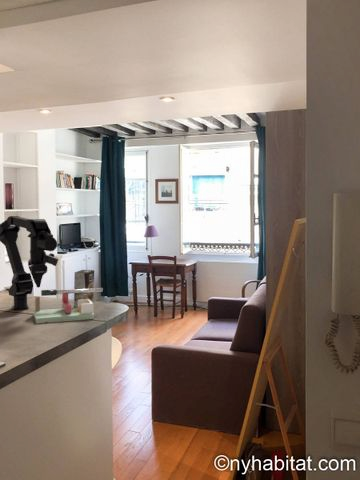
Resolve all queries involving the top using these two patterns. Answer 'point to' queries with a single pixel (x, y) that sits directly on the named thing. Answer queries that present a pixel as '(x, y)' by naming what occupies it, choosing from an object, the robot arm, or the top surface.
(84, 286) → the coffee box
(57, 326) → the top surface
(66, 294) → the rod
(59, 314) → the foosball frame
